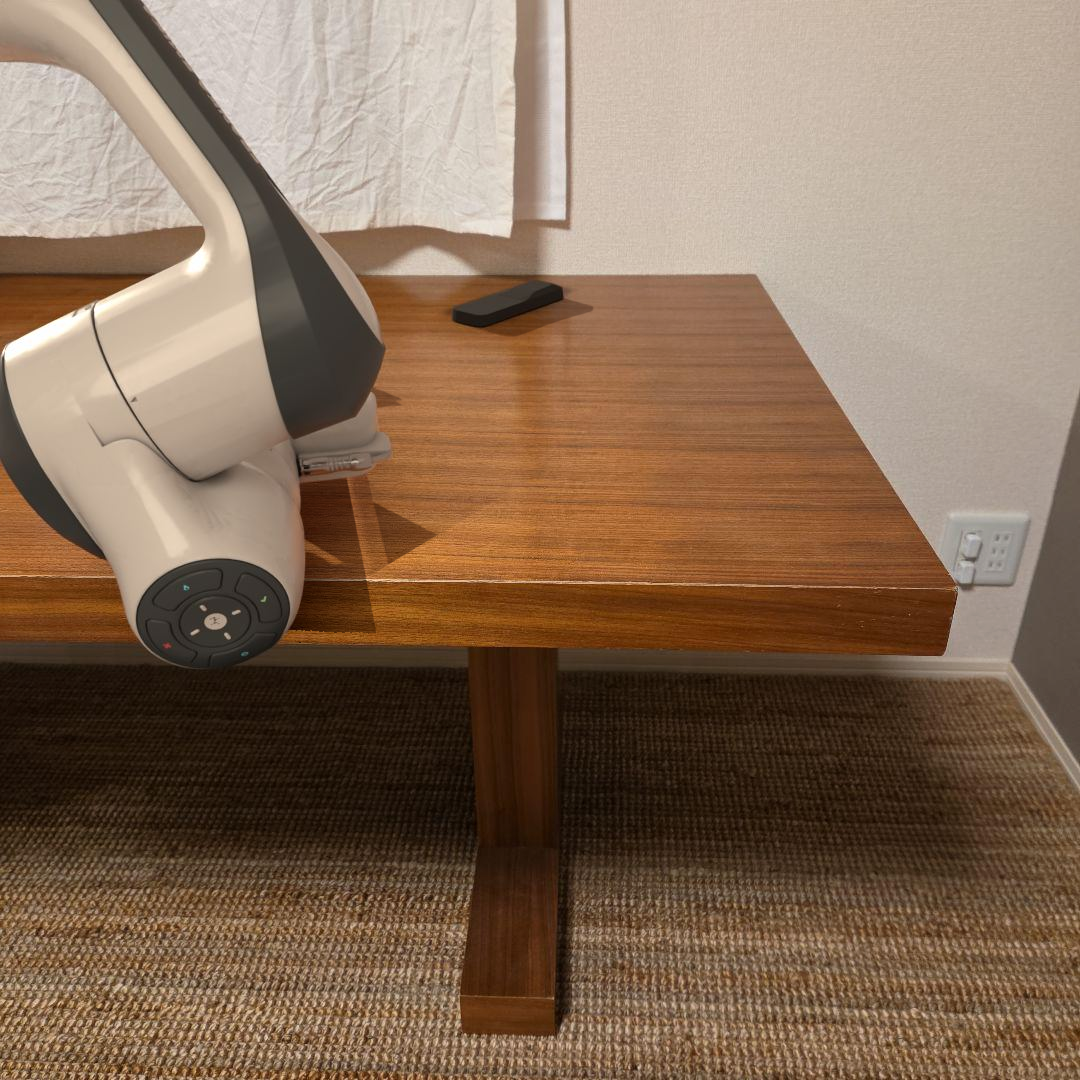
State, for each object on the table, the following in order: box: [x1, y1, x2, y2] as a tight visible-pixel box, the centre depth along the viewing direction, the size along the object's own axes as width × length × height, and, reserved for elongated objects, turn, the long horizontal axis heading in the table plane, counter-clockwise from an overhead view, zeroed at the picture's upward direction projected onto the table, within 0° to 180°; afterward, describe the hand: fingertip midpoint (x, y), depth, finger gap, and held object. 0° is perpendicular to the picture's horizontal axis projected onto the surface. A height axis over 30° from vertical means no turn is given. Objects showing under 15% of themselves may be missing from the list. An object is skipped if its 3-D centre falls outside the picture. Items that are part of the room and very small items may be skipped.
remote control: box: [451, 279, 565, 328], centre depth 114 cm, size 5×2×15 cm
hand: (228, 398), depth 72 cm, fingers open, 8 cm apart
